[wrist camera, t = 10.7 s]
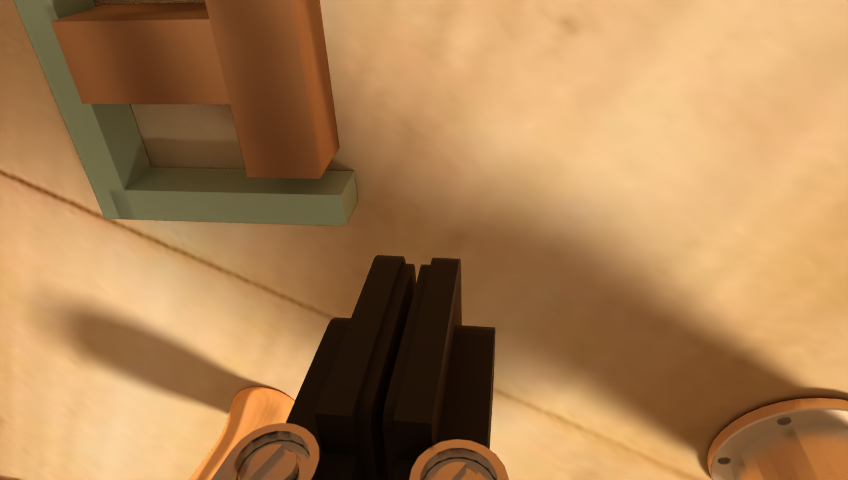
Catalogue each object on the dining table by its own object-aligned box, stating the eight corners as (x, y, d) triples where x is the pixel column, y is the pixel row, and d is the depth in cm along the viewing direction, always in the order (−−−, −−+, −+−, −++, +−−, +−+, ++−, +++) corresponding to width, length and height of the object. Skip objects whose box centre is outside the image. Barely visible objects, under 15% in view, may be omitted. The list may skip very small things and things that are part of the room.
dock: (308, -189, 24) (284, -195, 22) (357, 200, 34) (345, 226, 32) (-4, -166, 26) (-58, -169, 24) (132, 194, 37) (105, 218, 34)
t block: (307, -93, 26) (277, -86, 23) (339, 146, 33) (319, 178, 29) (72, -82, 28) (13, -75, 24) (148, 144, 34) (109, 173, 31)
